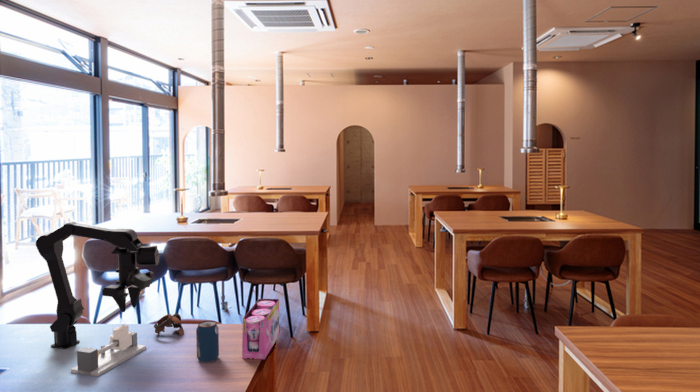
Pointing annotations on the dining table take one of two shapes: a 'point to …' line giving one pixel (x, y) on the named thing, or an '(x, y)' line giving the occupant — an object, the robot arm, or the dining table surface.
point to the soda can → (207, 341)
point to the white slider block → (121, 337)
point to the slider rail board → (104, 357)
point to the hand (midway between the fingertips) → (128, 309)
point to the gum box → (260, 329)
